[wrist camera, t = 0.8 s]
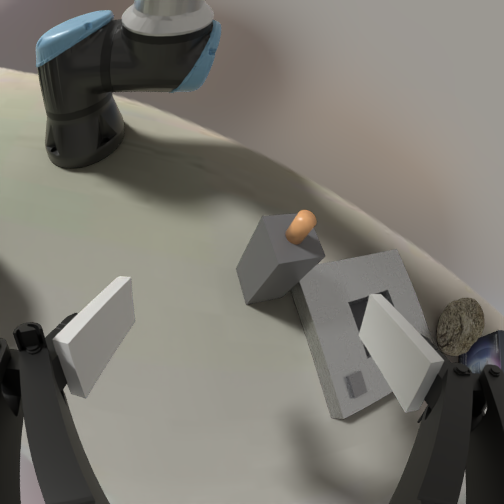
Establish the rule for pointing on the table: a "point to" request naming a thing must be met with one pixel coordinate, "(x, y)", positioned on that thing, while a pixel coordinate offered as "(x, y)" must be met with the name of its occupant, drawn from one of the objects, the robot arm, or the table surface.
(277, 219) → the plug
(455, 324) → the stone
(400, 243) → the table surface
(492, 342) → the small box
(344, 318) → the socket
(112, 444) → the table surface
